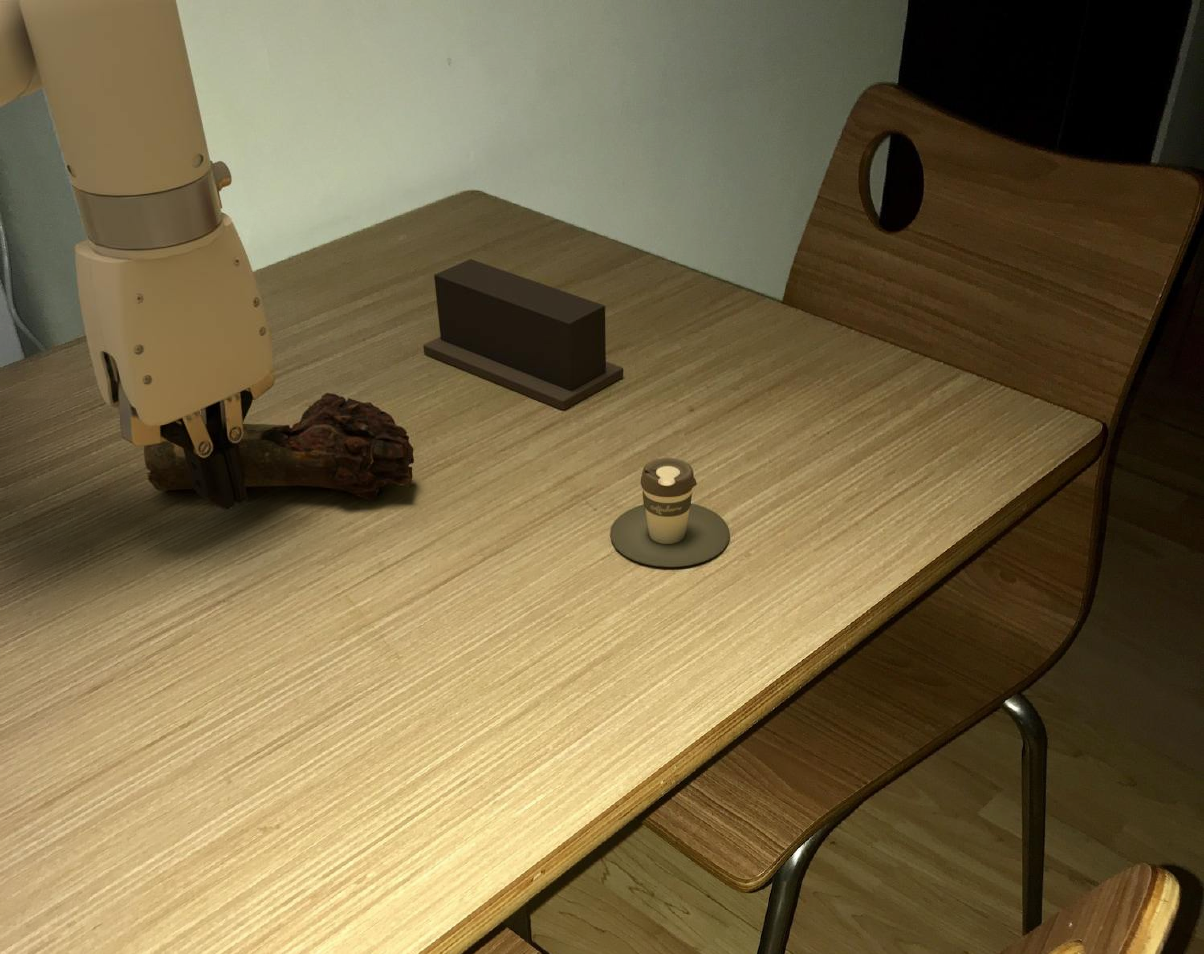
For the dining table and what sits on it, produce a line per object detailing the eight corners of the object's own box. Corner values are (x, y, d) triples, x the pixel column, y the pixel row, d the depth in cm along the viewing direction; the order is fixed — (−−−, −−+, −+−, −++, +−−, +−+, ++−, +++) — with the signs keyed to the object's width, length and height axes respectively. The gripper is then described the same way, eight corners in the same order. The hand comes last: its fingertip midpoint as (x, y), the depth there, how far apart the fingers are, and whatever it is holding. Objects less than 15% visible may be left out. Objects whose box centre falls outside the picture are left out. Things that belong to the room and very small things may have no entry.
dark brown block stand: (423, 354, 103) (415, 279, 99) (485, 324, 107) (479, 251, 102) (563, 411, 96) (560, 332, 92) (623, 377, 99) (623, 300, 95)
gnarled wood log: (152, 503, 87) (130, 426, 83) (185, 454, 92) (165, 379, 88) (409, 511, 86) (398, 433, 82) (428, 461, 91) (419, 385, 87)
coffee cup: (743, 484, 88) (747, 416, 84) (773, 585, 79) (779, 514, 76) (567, 493, 87) (565, 426, 84) (578, 596, 79) (576, 525, 75)
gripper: (219, 158, 77) (278, 437, 90) (-7, 231, 69) (92, 526, 82) (298, 185, 74) (348, 472, 87) (69, 266, 66) (161, 568, 79)
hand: (223, 497), depth 84 cm, fingers closed
